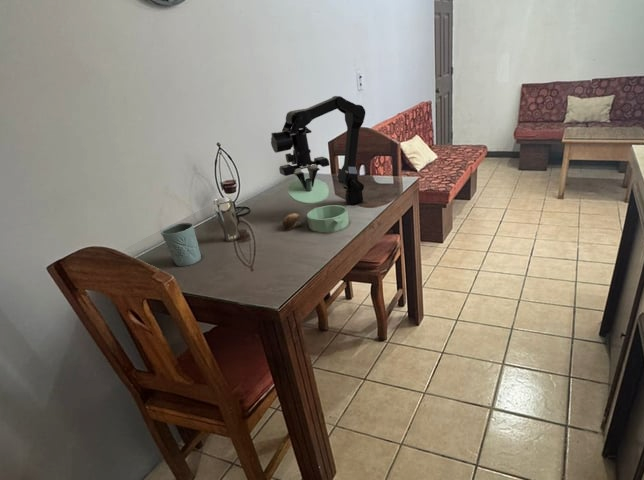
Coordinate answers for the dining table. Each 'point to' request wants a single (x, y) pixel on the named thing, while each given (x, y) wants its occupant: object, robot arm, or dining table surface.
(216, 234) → the dining table surface
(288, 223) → the mushroom
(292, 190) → the lid
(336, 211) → the pot
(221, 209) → the beer glass
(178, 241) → the embossed blue planter
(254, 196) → the dining table surface
